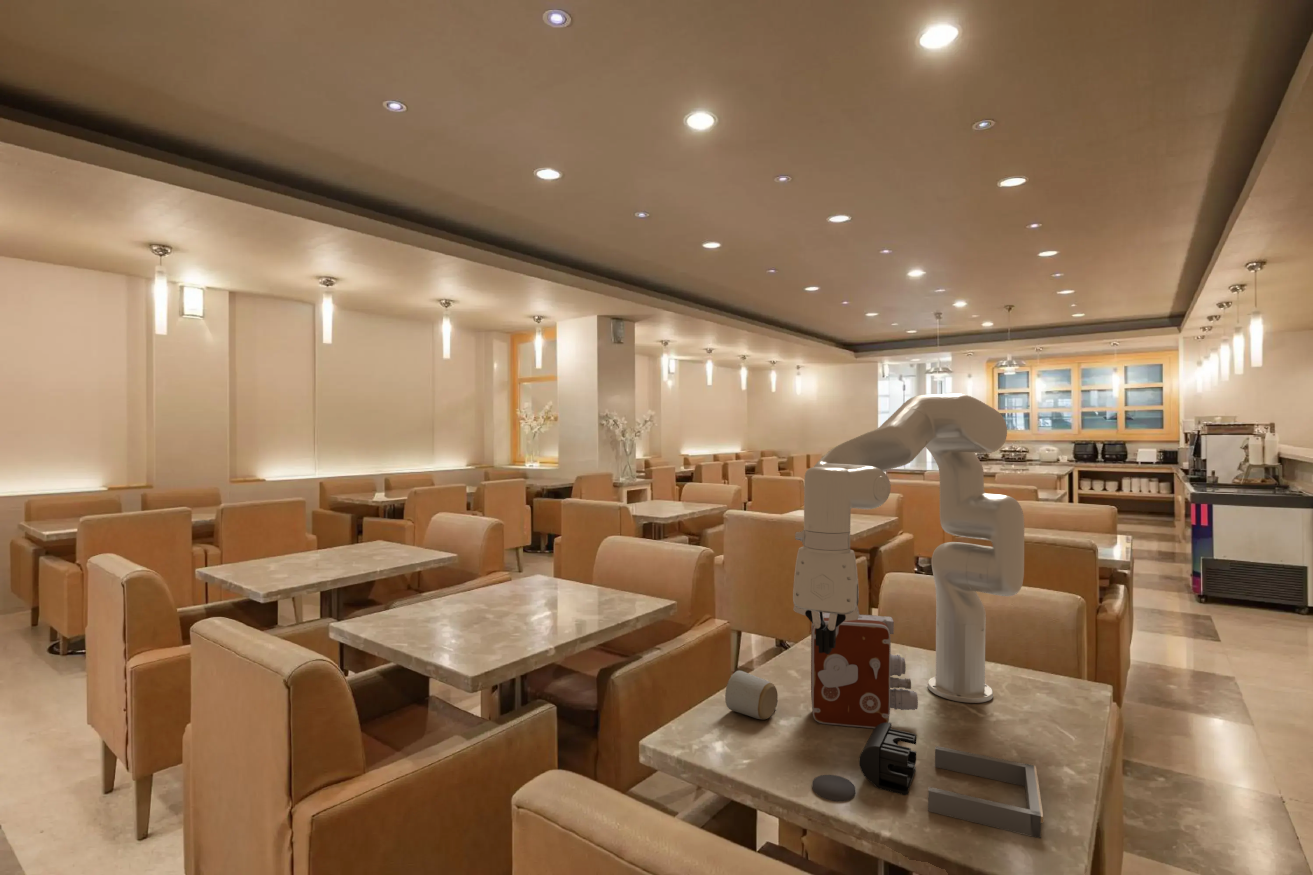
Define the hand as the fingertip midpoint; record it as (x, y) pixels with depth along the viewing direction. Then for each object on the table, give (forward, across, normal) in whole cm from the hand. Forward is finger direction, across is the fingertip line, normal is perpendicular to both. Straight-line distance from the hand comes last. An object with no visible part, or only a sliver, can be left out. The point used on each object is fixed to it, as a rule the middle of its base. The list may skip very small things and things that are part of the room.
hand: (825, 650), depth 111 cm
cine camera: (+19, +3, +19) cm, 27 cm away
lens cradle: (+19, +23, 0) cm, 30 cm away
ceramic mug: (+19, -17, +14) cm, 29 cm away
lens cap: (+19, +3, -8) cm, 21 cm away
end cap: (+19, +10, 0) cm, 21 cm away
